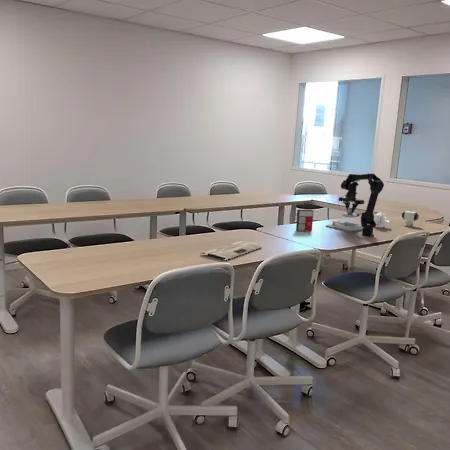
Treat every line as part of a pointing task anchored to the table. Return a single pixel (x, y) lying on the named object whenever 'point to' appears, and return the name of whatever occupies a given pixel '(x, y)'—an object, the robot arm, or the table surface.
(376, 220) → the white lumpy lump
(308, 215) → the grey and red box
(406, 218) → the pneumatic valve
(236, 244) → the newspaper
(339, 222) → the carrier plate
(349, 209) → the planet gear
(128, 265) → the table surface
